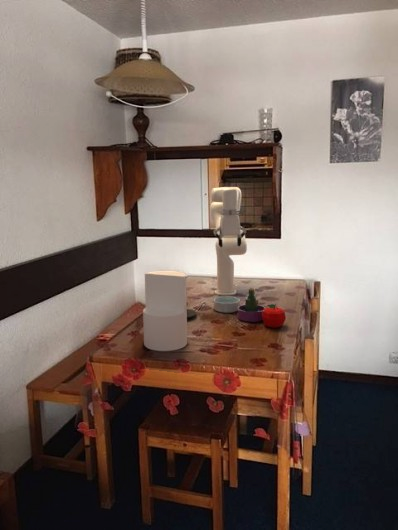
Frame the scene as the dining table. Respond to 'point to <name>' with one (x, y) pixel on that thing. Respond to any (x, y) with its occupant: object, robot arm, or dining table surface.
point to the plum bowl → (250, 314)
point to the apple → (273, 316)
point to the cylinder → (165, 310)
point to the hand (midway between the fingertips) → (229, 246)
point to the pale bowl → (226, 304)
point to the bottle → (251, 301)
